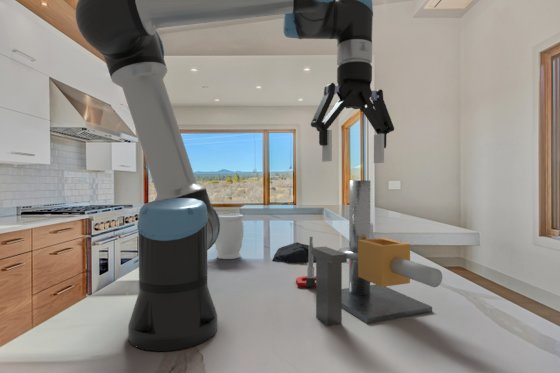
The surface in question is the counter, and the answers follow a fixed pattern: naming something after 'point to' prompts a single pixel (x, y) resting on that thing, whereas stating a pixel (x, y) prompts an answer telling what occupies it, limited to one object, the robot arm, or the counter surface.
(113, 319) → the counter surface
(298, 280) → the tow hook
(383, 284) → the bracket head
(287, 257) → the dark slate chunk
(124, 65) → the robot arm
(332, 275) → the wedge
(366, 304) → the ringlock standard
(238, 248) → the jar
